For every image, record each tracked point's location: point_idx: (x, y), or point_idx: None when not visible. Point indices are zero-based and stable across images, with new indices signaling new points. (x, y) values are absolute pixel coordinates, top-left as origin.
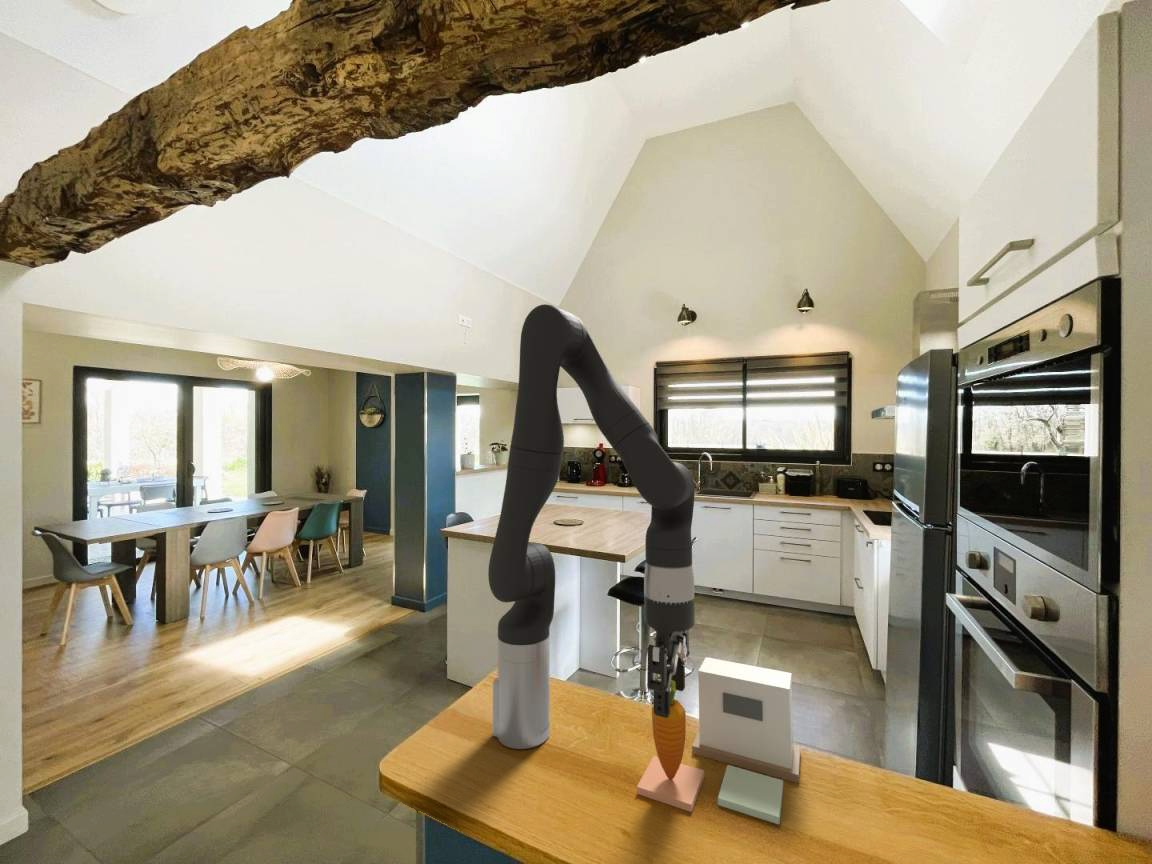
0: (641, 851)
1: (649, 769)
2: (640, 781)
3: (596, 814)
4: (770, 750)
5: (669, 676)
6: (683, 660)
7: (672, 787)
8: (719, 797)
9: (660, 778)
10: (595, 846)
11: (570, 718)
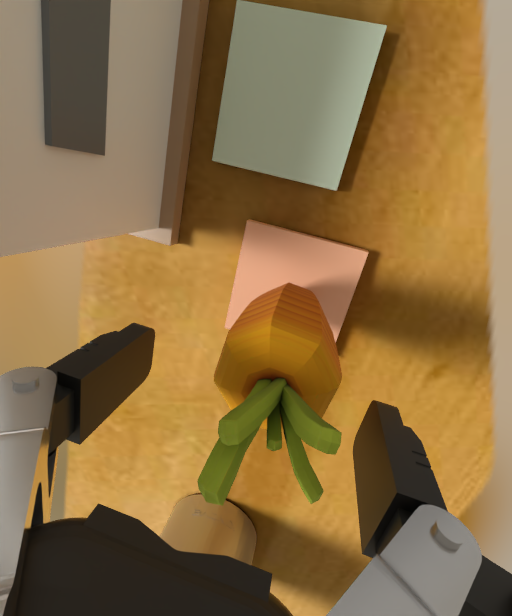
0: (484, 345)
1: None
2: None
3: None
4: (161, 14)
5: (455, 613)
6: (50, 413)
7: (319, 291)
8: (334, 186)
9: None
10: (474, 418)
11: (146, 463)
